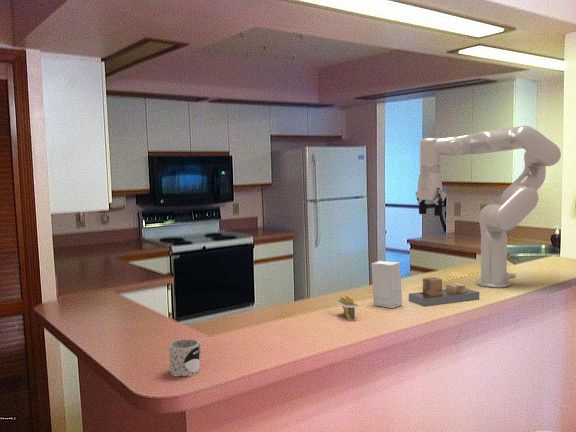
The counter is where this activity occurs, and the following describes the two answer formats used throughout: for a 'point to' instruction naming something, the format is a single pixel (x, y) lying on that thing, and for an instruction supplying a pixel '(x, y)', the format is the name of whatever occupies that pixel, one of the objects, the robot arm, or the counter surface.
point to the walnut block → (432, 287)
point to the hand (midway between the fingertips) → (430, 214)
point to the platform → (348, 307)
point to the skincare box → (386, 284)
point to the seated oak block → (455, 288)
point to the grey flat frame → (443, 297)
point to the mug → (185, 357)
